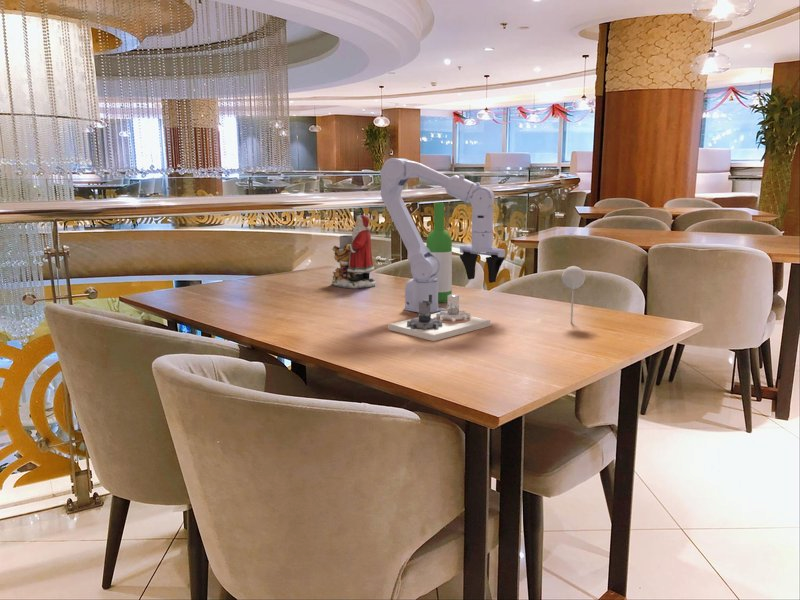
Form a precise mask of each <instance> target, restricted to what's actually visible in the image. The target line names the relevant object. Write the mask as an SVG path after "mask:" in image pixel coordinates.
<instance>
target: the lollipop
mask: <svg viewBox="0 0 800 600" xmlns="http://www.w3.org/2000/svg"><path fill="white" fill-rule="evenodd" d="M586 277H587V276H586V274H585V272H584V270H583V269H582V268H581V267H579V266H576V265H571V266H568V267H567V268H565V269H564V270H563V272H562V274H561V277H560V278H561V282H562V284H563V285H564V286H565V287H566V288H567V289H570V290H571V301H570V303H571V304H570V305H571V306H570V308H571V309H570V324H573V316H574V315H573V313H574V296H575V295H574V294H575V293H574V290H575V289H579V288H580V287H581V286H583V285H584V283H585V282H586V281H585V280H586Z"/></svg>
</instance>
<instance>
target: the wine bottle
mask: <svg viewBox="0 0 800 600" xmlns="http://www.w3.org/2000/svg"><path fill="white" fill-rule="evenodd" d="M433 207H434V208H433V217H434V218H433V224H434V225H433V229H432V230H431V231H430V233H429V234H428V235H427V238H426V241H425V242H426V243H425V245H426V246H427V247H428V248H429V250H430V251H431V253H432V255H433V256H435V257H436V258H437V259H438V261H439V263H440V268H439V271H438V272H437V274H436V276H437V277H438V304H439V303H447V298H448V295H453V293H452V291H453V290H452V289H453V288H452V287H453V285H452V284H453V281H452V279H453V275H452V274H453V267H452V266H453V251H452V249H453V247H452V245H453V244H452V243H453V242H452V238H451V235H450V234H449V232H448V231H447V230H445V202H434V203H433Z"/></svg>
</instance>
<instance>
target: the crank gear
mask: <svg viewBox="0 0 800 600" xmlns="http://www.w3.org/2000/svg"><path fill="white" fill-rule="evenodd" d="M431 304H432V295H431V294H430V295H429V300H423V301H421V302H419V313H418V317H419V318H417V317H413V318H410V319H411V321H407V326H411V329H423V330H427V329H439V326H442V321H439V320H438V318H434V319H433V318H431V314H432V313H431ZM415 318H417V319H415Z"/></svg>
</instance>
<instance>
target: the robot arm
mask: <svg viewBox="0 0 800 600" xmlns="http://www.w3.org/2000/svg"><path fill="white" fill-rule="evenodd" d="M379 174H380V197H381V199H382V202H383V203H384V204H383V205H384V206H385V208H386V209H387V211H388V213H389V216H390V218H391V220H392V222H393V225H394V227H395V228H396V230H397V232H398V234H399V237H400V238H401V240H402V243H403V245H404V246H405V249H406V251H407V253H408V254H407V255H408V256H407V259H408V262H409V264H410V274H411V275H412V278H410V279H409V280H408V281H406V283H405V287H404V307H403V308H402V309H403V310H405V311H408V312H412V313H413V312H414V313H418V314H419V302H421V301H423V300H429V295H430V294H431V295H432V304H431V314H434V313H439V312H440V311H446V310H445V308H444V307H439V303H438V277H437V276H436V274H437V272H438V271H439V268H440V263H439V261H438V259H437V258H436V257H435V256H433V255H432V253H431V251H430V250H429V248H428V247H427V246H426V243H424V241H423V238H422V237H421V234H420V232H419V231H418V228H417V226H416V224H415V222H414V220H413V218H412V216H411V213H410V211H409V209H408V208H407V205H406V204H405V201H404V199H403V197H402V195H401V194H402V191H403V189H404V187H405V185H406V183H407V182H408V181H409V180H410V179H412V178H419V179H421V180H425V181H427V182H428V183H432V184H435V185H436V186H440V187H442V188H444V189H445V192H446V194H447V195H449V196H451V197H453V198H455V199H457V200H459V201H462V202H464V203H467V204H469V203H470V205H471V207H472V215H471V245H467V244H466V245H465V244H463V245H460V246H459V253H461V254H460V255H459V258H460V260H461V262H462V264H463V266H464V269H465V273H466V276H467V280H469V281H470V280H474V279H475V277H476V265H477V264H476V263H477V259H478V256H479V255H481V256H486V257H485V260H486V263H487V264H486V265H487V270H488V277H487V279H488V283H489V284H492V283H496V282H497V278H498V277H497V276H498V274H499V271H500V268H501V266H502V264H503V262H504V261H505V257H506V249H503V248H497V247H493V237H494V236H493V233H494V231H493V230H494V228H493V226H494V214H493V212H494V208H493V204H494V202H495V198H496V196H495V193H494V191H493V190H492V189H491V188H489V187H488V186H485V185H483V186H481V183H480V182H479V181H478V182H473V181H471V180H469V179H467V178H465V175H464V174H459V175H457V174H455V175H452V176H448V175H446V174H443V173H442V172H441V171H440V172H439V171H438V170H435V169H433V168H431V167H429V166H427V165H425V164H423V163H420V162H417V161H414V160H409V159H407V158H404V157H400V158H397V157H390V158H388V159H386V160H385V162H384V163H383V165H382V167H381V169H380V172H379Z"/></svg>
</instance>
